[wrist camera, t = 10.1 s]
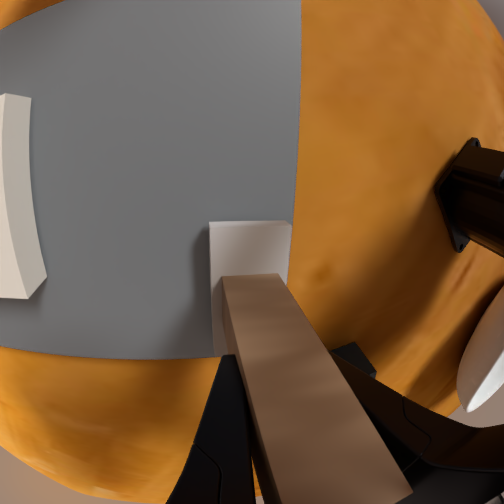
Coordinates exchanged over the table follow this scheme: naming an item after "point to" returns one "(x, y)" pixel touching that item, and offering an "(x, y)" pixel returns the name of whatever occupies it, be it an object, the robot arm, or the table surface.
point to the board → (147, 162)
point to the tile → (17, 204)
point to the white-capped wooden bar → (291, 379)
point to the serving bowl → (483, 358)
